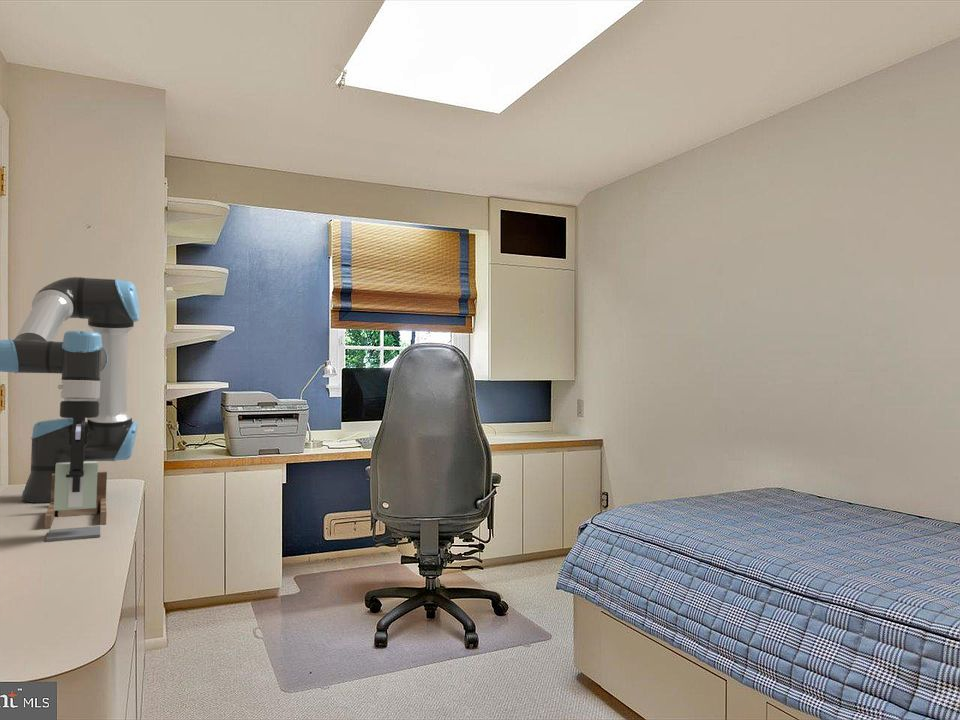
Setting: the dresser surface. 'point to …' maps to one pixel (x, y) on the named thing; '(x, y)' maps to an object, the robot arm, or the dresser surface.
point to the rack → (100, 500)
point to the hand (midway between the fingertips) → (75, 504)
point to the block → (63, 485)
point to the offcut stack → (78, 511)
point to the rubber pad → (73, 533)
